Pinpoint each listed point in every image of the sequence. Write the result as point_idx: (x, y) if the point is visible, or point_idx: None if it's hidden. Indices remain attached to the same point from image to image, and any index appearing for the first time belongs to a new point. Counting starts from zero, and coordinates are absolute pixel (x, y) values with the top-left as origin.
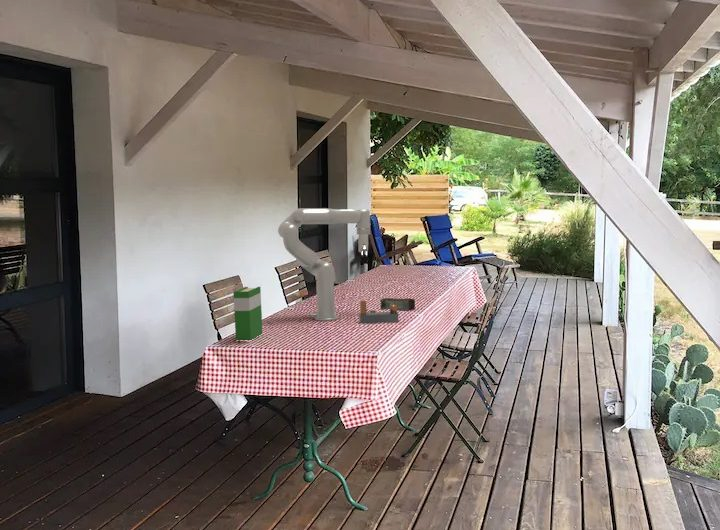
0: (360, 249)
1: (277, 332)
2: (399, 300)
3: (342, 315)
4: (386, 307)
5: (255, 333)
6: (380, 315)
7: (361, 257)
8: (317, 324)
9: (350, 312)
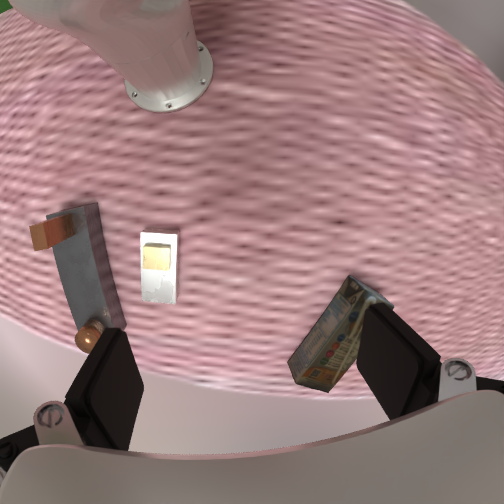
0: (8, 496)
1: (23, 19)
2: (316, 356)
3: (239, 125)
4: (339, 297)
5: None
6: (64, 284)
7: (394, 346)
8: (78, 69)
9: (306, 158)
